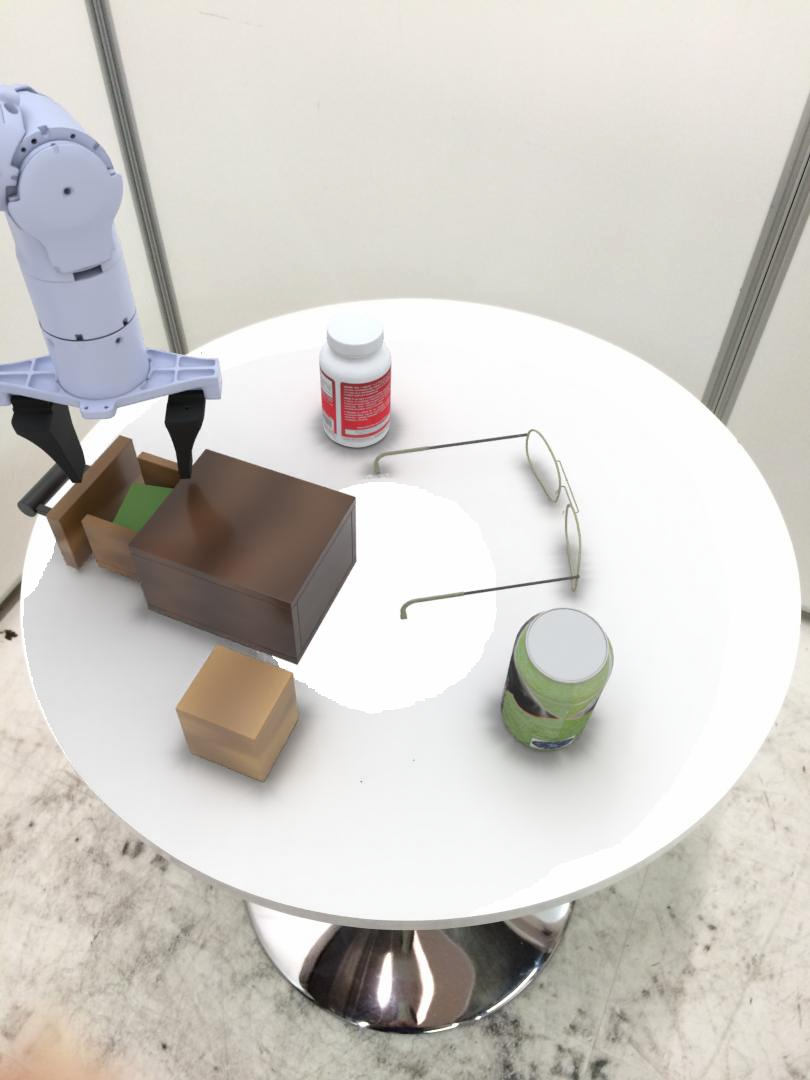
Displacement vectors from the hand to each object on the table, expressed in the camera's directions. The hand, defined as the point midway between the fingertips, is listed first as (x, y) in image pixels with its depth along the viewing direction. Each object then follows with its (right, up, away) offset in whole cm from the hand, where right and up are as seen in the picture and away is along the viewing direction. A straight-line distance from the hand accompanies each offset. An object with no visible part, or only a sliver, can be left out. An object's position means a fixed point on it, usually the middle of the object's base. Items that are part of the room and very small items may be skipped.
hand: (133, 471), depth 63 cm
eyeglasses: (+25, -4, +9) cm, 28 cm away
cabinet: (+8, -8, +5) cm, 13 cm away
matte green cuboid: (0, -5, +5) cm, 7 cm away
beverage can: (+29, -18, -2) cm, 34 cm away
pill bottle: (+15, +5, +17) cm, 24 cm away
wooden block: (+9, -18, -4) cm, 21 cm away
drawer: (-2, -5, +6) cm, 8 cm away
